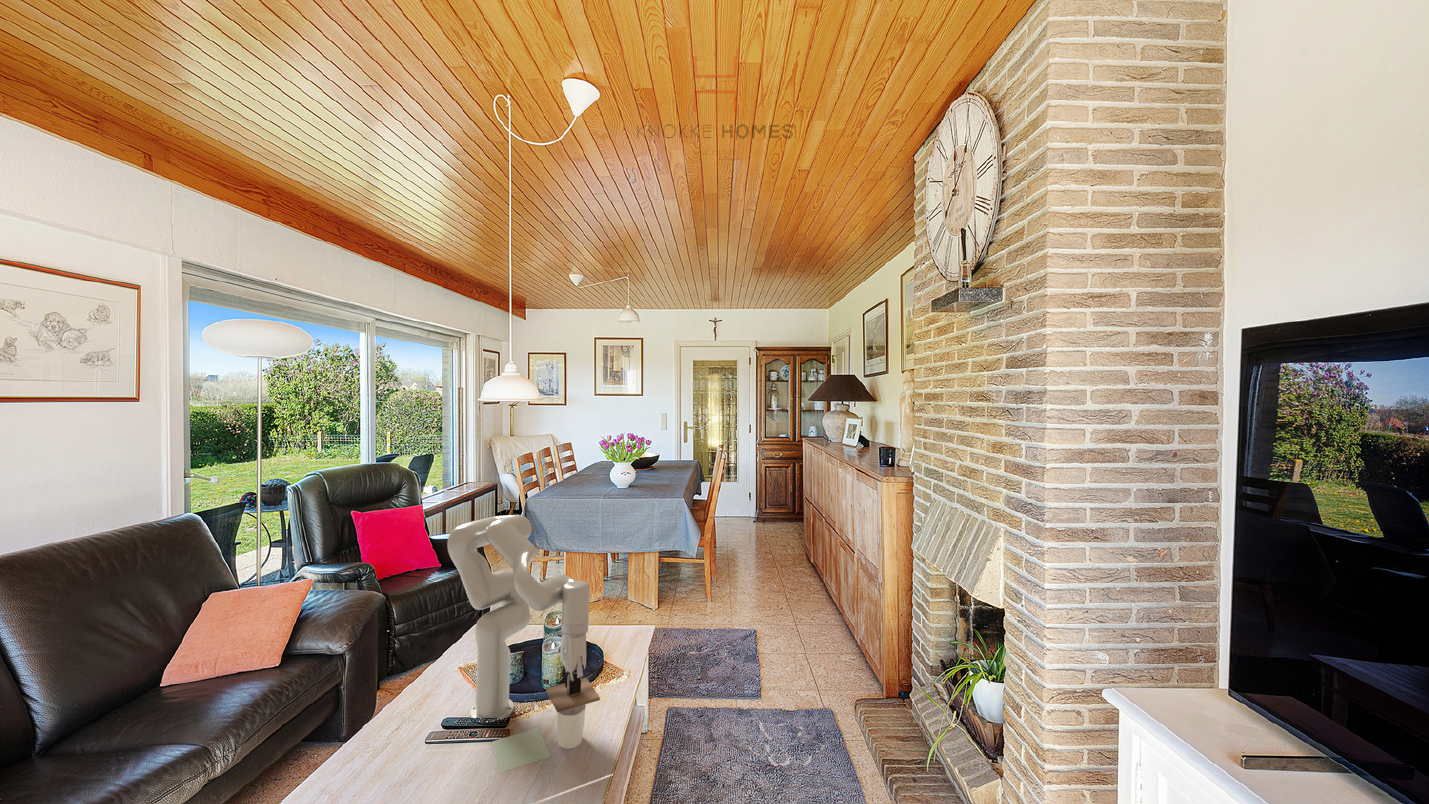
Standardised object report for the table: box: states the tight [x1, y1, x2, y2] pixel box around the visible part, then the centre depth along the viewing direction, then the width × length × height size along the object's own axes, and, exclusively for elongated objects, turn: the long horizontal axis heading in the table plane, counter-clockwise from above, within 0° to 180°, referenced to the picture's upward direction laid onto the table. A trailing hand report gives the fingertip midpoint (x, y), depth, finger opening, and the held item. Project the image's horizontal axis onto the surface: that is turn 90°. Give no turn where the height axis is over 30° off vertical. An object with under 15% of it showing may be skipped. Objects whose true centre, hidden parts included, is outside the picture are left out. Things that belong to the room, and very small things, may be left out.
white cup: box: [556, 704, 587, 749], centre depth 149 cm, size 8×8×10 cm
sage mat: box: [491, 727, 551, 774], centre depth 145 cm, size 14×13×1 cm
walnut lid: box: [545, 672, 601, 713], centre depth 149 cm, size 12×12×6 cm
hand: (572, 689), depth 149 cm, fingers closed on walnut lid, 3 cm apart
